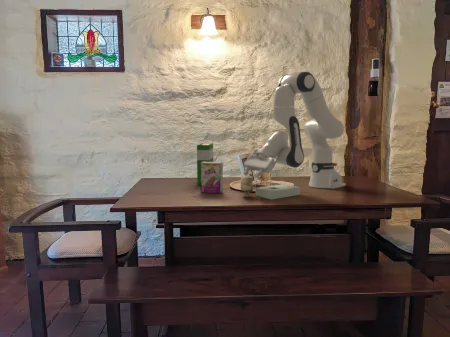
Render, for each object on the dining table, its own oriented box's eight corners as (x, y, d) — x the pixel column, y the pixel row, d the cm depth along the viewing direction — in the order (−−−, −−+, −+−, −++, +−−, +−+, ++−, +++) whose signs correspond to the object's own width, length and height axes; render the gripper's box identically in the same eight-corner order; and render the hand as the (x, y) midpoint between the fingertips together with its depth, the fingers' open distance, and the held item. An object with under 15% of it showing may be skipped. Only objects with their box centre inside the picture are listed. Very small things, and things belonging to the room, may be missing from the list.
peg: (247, 194, 199) (247, 175, 198) (255, 196, 194) (255, 177, 193) (238, 196, 196) (238, 176, 194) (245, 198, 191) (245, 178, 189)
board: (283, 191, 208) (284, 183, 208) (299, 194, 198) (300, 187, 198) (255, 195, 197) (255, 187, 196) (270, 199, 187) (271, 191, 187)
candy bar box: (200, 192, 205) (200, 162, 202) (203, 191, 209) (203, 161, 207) (220, 193, 202) (220, 163, 199) (223, 192, 206) (223, 162, 204)
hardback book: (201, 180, 246) (201, 143, 243) (213, 180, 245) (213, 143, 242) (197, 184, 229) (196, 145, 225) (209, 185, 228) (209, 145, 225)
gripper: (282, 161, 191) (266, 182, 187) (257, 158, 209) (242, 177, 205) (275, 153, 188) (259, 174, 185) (251, 150, 206) (235, 169, 202)
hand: (250, 175), depth 195 cm, fingers open, 8 cm apart
